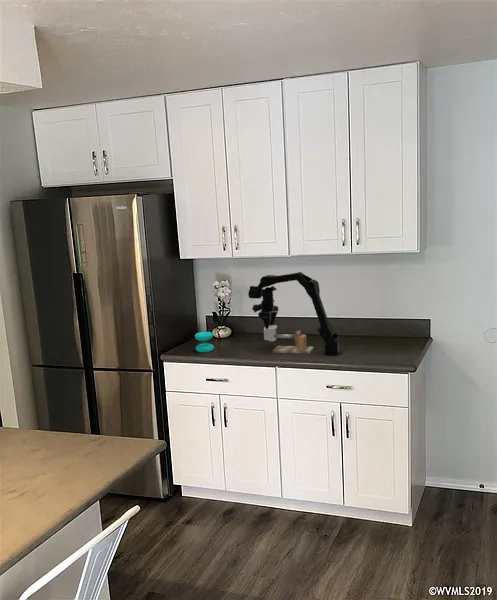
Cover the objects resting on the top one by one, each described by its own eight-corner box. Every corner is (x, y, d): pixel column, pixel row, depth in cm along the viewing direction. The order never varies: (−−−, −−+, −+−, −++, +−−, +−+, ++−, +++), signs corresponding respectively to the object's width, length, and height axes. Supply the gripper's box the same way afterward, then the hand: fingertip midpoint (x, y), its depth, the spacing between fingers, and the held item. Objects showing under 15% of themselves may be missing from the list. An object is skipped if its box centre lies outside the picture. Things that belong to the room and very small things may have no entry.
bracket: (313, 348, 328) (312, 329, 327) (309, 353, 319) (308, 334, 317) (278, 347, 335) (277, 329, 333) (273, 352, 325) (272, 333, 324)
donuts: (191, 333, 339) (207, 330, 344) (193, 350, 341) (208, 347, 346) (199, 336, 331) (215, 333, 336) (200, 353, 332) (217, 350, 337)
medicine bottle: (276, 340, 353) (275, 320, 351) (264, 340, 355) (263, 320, 353) (278, 337, 360) (277, 317, 358) (266, 337, 362) (265, 317, 360)
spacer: (306, 347, 328) (305, 334, 327) (303, 350, 321) (303, 337, 320) (302, 347, 329) (301, 334, 327) (299, 350, 322) (298, 337, 321)
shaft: (295, 339, 327) (295, 330, 327) (293, 341, 324) (293, 332, 323) (270, 339, 332) (270, 330, 331) (268, 341, 328) (268, 332, 327)
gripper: (258, 295, 338) (260, 323, 340) (248, 301, 320) (250, 330, 323) (278, 295, 334) (279, 323, 337) (268, 301, 317) (270, 330, 319)
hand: (269, 327), depth 329 cm, fingers open, 9 cm apart
